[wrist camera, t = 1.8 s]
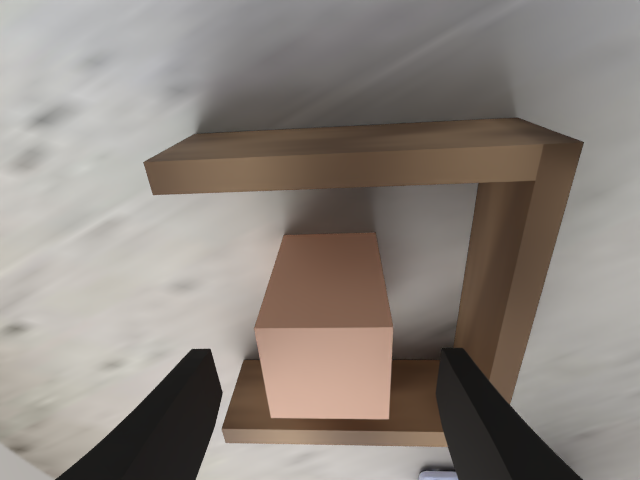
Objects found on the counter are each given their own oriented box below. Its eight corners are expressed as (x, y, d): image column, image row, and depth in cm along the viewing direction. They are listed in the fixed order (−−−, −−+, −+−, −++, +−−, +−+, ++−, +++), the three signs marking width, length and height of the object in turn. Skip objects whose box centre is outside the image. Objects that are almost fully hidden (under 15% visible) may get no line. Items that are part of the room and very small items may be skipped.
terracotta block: (375, 232, 15) (393, 327, 10) (374, 306, 17) (388, 419, 12) (283, 234, 16) (254, 328, 10) (292, 307, 17) (270, 417, 12)
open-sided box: (517, 117, 13) (583, 142, 9) (468, 373, 19) (497, 447, 15) (194, 133, 14) (143, 162, 10) (246, 373, 20) (225, 442, 16)
